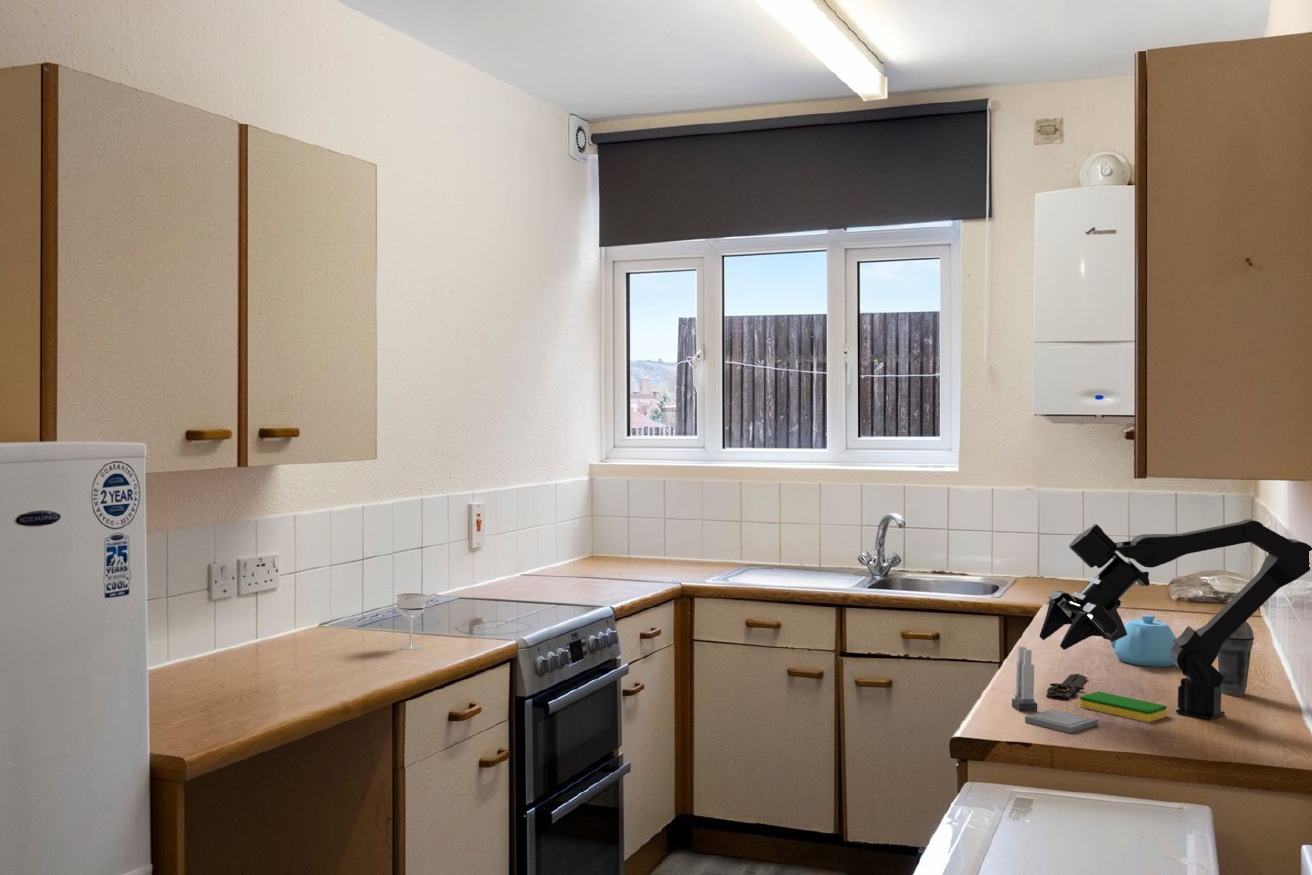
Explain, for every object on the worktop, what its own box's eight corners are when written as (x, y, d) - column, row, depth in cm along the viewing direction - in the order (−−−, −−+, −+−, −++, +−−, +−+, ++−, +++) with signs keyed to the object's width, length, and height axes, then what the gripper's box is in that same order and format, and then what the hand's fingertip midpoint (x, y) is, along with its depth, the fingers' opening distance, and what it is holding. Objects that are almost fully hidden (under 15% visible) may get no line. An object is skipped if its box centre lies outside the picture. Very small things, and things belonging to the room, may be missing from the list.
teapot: (1098, 654, 267) (1099, 609, 267) (1159, 654, 269) (1160, 609, 268) (1132, 669, 252) (1133, 620, 252) (1196, 668, 253) (1197, 620, 253)
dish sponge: (1148, 724, 206) (1149, 711, 206) (1078, 708, 217) (1078, 696, 217) (1167, 718, 211) (1167, 705, 210) (1097, 703, 221) (1097, 690, 221)
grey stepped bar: (1029, 706, 216) (1030, 646, 216) (1037, 711, 212) (1038, 650, 212) (1011, 706, 216) (1013, 646, 215) (1019, 711, 212) (1020, 650, 212)
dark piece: (1072, 676, 245) (1072, 670, 245) (1103, 680, 241) (1103, 674, 241) (1036, 698, 224) (1036, 691, 224) (1070, 703, 221) (1070, 696, 221)
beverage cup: (1247, 690, 233) (1249, 593, 232) (1257, 698, 226) (1260, 598, 225) (1208, 687, 234) (1211, 591, 234) (1217, 695, 227) (1220, 596, 227)
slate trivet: (1097, 725, 203) (1097, 719, 203) (1070, 733, 197) (1070, 727, 197) (1052, 714, 210) (1052, 708, 210) (1024, 721, 204) (1025, 716, 204)
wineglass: (397, 644, 263) (398, 593, 263) (427, 644, 264) (428, 593, 263) (393, 650, 256) (394, 597, 256) (423, 650, 257) (424, 597, 257)
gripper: (1162, 624, 207) (1102, 684, 206) (1113, 607, 225) (1058, 662, 224) (1122, 581, 206) (1062, 641, 205) (1076, 567, 224) (1020, 622, 224)
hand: (1051, 642), depth 215 cm, fingers open, 9 cm apart
